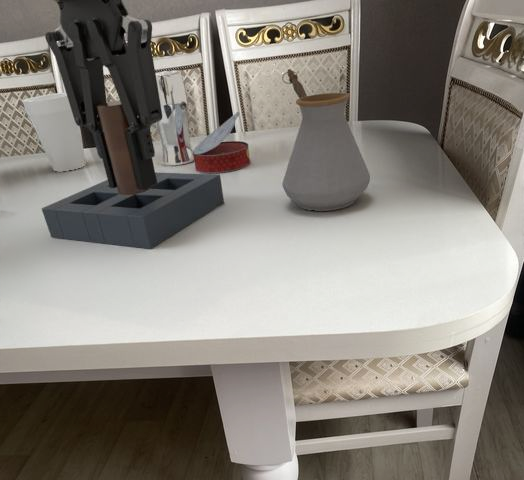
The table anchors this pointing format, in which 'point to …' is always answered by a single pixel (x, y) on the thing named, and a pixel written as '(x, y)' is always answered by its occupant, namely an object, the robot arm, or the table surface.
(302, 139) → the coffee pot
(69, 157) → the foam cup
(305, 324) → the table surface
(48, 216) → the pad base
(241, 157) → the canned food
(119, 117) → the peg
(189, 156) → the beer glass
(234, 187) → the table surface
